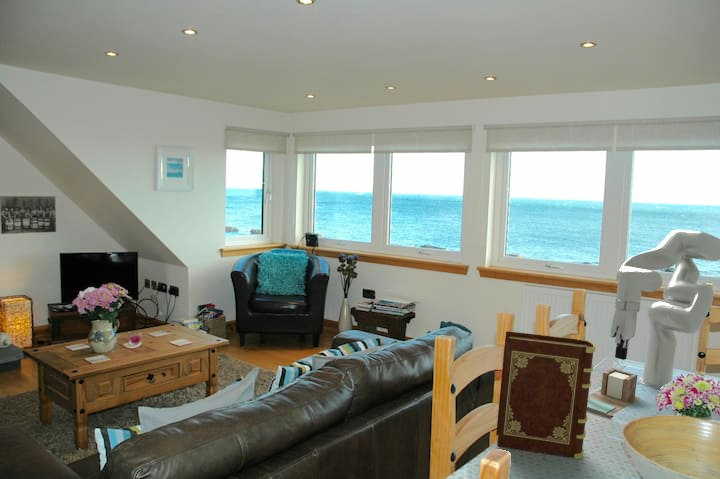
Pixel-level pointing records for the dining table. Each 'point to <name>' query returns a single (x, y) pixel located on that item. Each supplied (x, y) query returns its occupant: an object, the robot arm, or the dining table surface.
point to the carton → (616, 385)
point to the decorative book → (544, 394)
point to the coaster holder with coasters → (609, 404)
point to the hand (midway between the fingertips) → (620, 358)
